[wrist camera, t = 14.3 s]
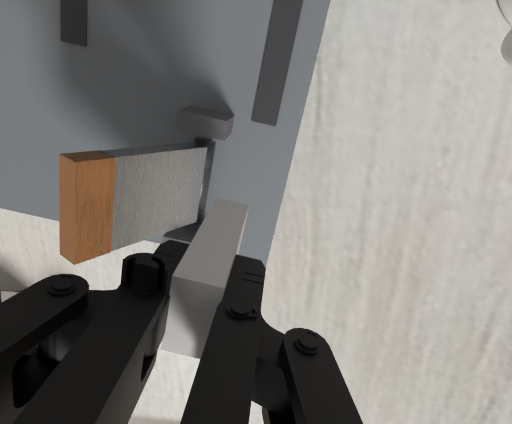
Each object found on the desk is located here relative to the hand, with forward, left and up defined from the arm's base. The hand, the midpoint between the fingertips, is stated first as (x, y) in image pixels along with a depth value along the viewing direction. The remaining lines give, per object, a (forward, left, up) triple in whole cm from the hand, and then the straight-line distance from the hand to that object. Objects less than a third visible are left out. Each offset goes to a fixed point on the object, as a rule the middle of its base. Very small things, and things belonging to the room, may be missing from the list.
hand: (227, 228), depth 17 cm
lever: (0, -3, -5) cm, 6 cm away
